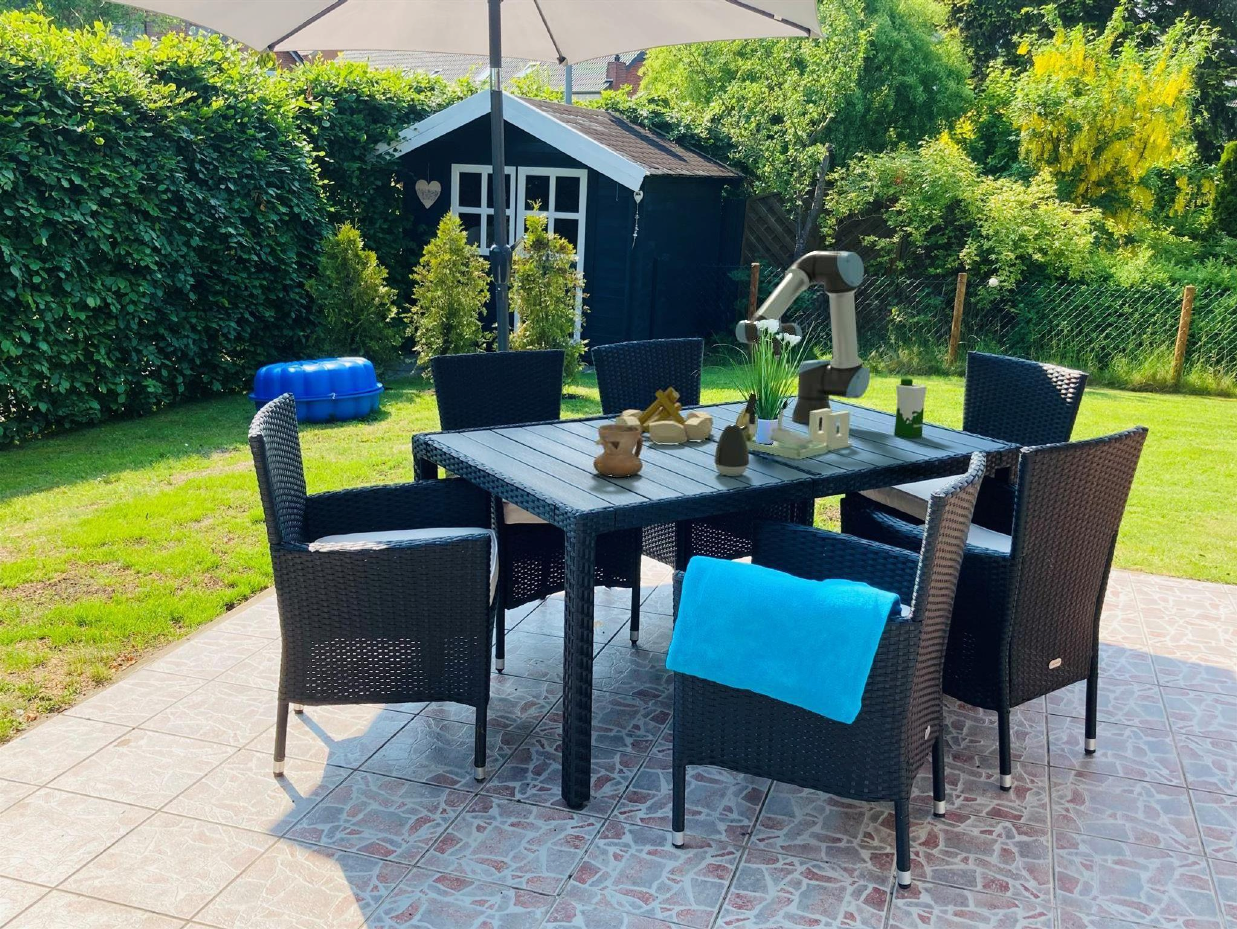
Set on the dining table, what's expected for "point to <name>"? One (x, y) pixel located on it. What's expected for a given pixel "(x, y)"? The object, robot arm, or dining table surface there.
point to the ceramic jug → (619, 450)
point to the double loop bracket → (830, 428)
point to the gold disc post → (777, 434)
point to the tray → (787, 449)
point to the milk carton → (909, 409)
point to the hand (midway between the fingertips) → (765, 430)
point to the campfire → (668, 420)
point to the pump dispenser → (732, 451)
